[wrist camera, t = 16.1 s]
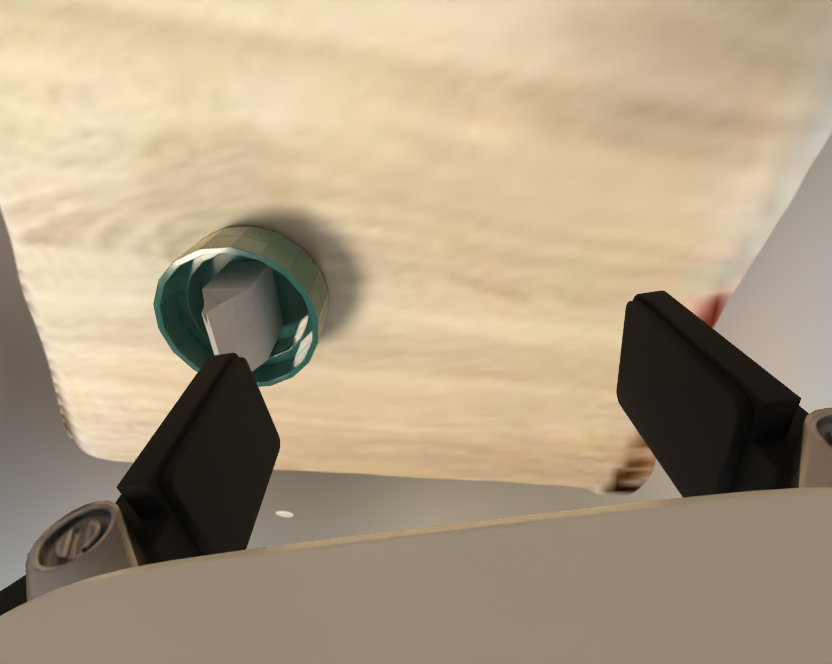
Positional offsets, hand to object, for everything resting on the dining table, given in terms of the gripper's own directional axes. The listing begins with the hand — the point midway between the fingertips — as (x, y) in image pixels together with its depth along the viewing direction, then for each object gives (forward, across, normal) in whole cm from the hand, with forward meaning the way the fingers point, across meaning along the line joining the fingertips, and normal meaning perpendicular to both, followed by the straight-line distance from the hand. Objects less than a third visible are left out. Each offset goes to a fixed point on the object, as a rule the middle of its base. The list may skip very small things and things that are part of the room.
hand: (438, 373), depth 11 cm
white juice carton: (+28, +16, +8) cm, 33 cm away
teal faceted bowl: (+28, +16, +8) cm, 34 cm away
